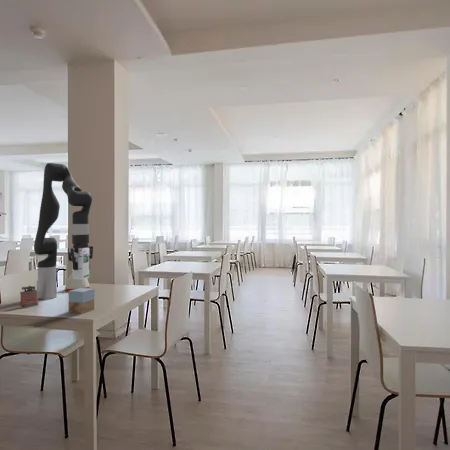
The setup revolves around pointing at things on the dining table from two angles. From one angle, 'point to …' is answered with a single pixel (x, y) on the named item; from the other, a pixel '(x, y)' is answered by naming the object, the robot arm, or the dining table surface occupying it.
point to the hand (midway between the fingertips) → (81, 269)
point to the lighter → (29, 296)
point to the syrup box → (82, 264)
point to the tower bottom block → (81, 306)
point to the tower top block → (81, 295)
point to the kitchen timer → (76, 283)
